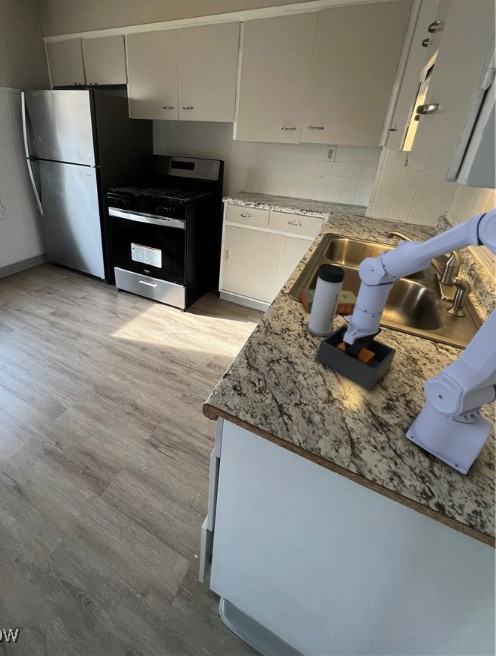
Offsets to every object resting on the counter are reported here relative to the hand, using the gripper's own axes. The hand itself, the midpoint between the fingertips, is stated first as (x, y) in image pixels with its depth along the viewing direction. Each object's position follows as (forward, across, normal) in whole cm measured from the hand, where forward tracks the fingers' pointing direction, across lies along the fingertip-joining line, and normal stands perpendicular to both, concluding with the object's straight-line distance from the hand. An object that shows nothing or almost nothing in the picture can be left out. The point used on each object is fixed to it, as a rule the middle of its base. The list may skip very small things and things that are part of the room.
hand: (355, 355), depth 76 cm
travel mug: (+3, -6, -13) cm, 15 cm away
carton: (+3, -20, -18) cm, 27 cm away
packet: (+1, 0, 0) cm, 1 cm away
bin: (+3, 0, 0) cm, 3 cm away
